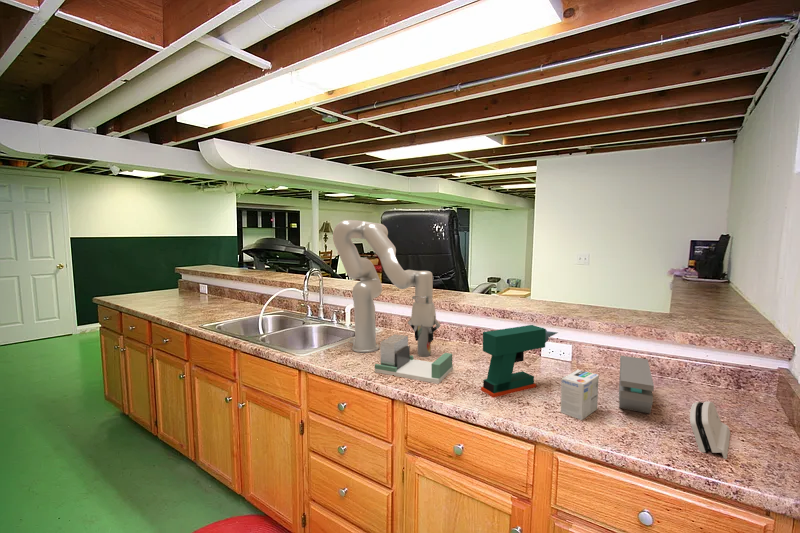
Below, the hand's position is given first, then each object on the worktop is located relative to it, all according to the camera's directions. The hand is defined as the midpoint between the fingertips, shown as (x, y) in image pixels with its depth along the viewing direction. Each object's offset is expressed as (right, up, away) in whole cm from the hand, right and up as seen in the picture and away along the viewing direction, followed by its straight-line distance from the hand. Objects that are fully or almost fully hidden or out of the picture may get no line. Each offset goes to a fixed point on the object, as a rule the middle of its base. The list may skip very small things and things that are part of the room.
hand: (424, 340), depth 165 cm
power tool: (+33, -9, -32) cm, 47 cm away
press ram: (-12, -6, -15) cm, 20 cm away
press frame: (-5, -8, -18) cm, 20 cm away
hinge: (+68, -12, -68) cm, 97 cm away
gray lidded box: (+62, -10, -47) cm, 79 cm away
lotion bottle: (0, -7, +1) cm, 7 cm away
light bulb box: (+43, -11, -52) cm, 68 cm away
